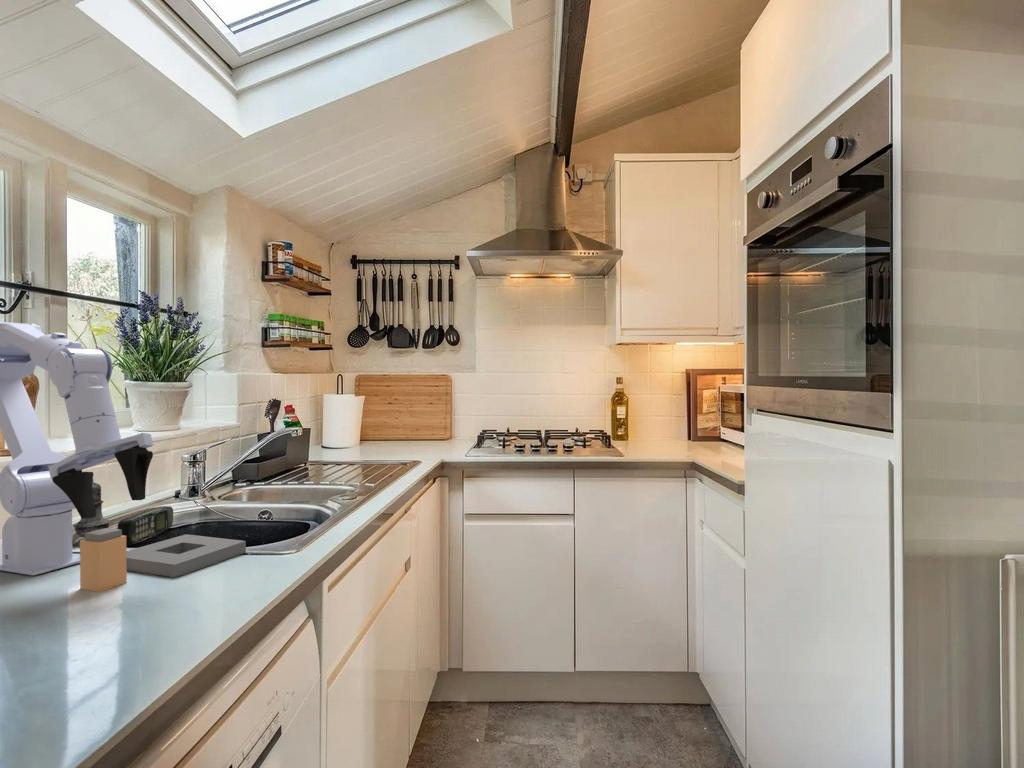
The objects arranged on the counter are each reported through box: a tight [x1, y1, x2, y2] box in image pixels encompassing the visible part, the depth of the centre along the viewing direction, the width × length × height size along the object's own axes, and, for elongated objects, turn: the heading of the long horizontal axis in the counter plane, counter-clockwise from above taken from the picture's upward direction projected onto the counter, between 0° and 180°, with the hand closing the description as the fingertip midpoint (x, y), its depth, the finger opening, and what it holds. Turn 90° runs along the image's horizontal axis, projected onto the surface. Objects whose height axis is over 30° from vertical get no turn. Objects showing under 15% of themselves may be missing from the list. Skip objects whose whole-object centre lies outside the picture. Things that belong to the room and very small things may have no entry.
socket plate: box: [126, 534, 247, 578], centre depth 98 cm, size 14×14×2 cm
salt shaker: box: [72, 479, 112, 547], centre depth 109 cm, size 6×6×12 cm
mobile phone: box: [117, 505, 174, 546], centre depth 114 cm, size 5×3×15 cm
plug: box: [79, 527, 128, 593], centre depth 85 cm, size 4×4×8 cm
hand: (113, 508), depth 85 cm, fingers open, 7 cm apart
